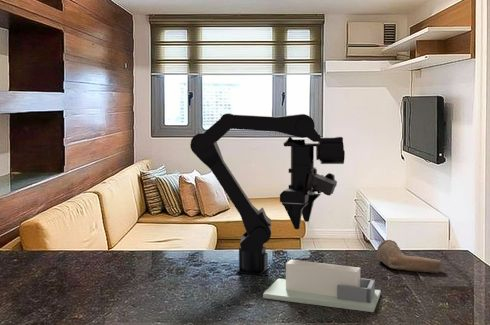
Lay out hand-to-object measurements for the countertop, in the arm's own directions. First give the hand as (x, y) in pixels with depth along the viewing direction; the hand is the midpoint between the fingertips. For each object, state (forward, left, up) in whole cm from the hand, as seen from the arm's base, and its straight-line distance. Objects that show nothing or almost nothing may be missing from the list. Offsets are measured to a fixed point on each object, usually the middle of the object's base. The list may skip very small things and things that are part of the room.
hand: (302, 225), depth 136 cm
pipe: (+25, +13, -12) cm, 31 cm away
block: (+9, -16, -11) cm, 21 cm away
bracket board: (+9, -16, -12) cm, 22 cm away
